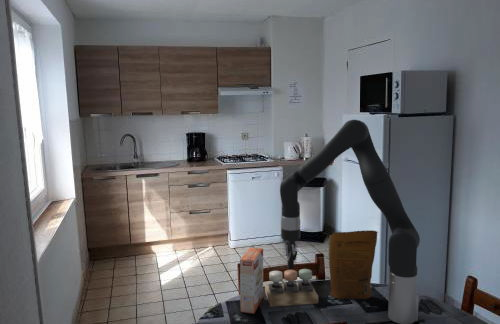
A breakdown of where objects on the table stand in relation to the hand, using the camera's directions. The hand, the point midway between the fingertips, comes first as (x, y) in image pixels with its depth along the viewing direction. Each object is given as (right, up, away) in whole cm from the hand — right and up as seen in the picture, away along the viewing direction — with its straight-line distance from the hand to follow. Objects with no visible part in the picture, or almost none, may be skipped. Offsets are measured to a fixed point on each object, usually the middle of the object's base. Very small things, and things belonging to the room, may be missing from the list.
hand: (290, 268), depth 162 cm
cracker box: (-15, -13, -4) cm, 21 cm away
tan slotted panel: (0, -12, +2) cm, 12 cm away
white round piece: (-6, -6, 0) cm, 9 cm away
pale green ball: (+6, -6, +1) cm, 9 cm away
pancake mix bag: (+24, -12, +1) cm, 27 cm away
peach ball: (0, -6, +1) cm, 6 cm away
